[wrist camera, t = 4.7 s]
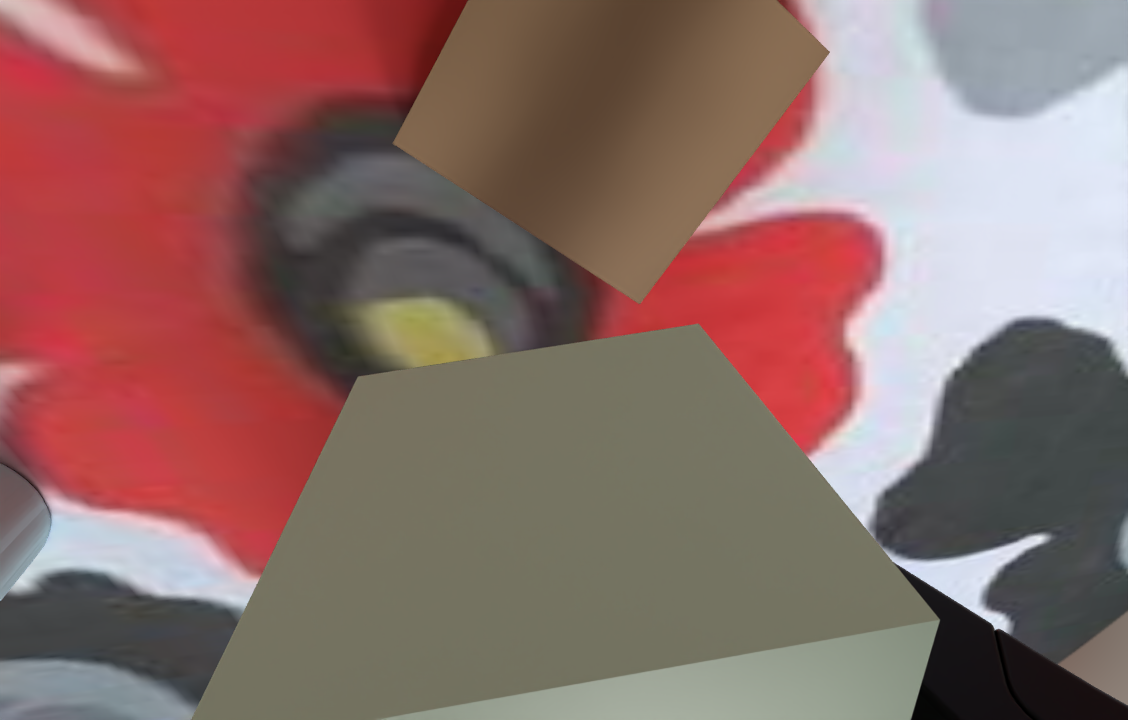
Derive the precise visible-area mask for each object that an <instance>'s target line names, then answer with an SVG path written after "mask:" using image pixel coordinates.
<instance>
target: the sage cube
mask: <svg viewBox="0 0 1128 720" xmlns="http://www.w3.org/2000/svg"><path fill="white" fill-rule="evenodd" d="M939 621H940V619H939V618H938V617H937V616H936V614H935V613H934V612H933V611H932V609H931V608H930V607H929V606H928V605H927V603H926V602H925V601H924V600H923V598H922V597H921V596H920V595H919V593H918V592H917V591H916V590H915V589H914V587H913V586H912V585H911V584H910V582H909V581H908V580H907V579H906V578H905V576H904V575H903V574H902V573H901V571H900V570H899V569H898V568H897V567H896V565H895V564H894V563H893V562H892V560H891V559H890V558H889V557H888V555H887V554H886V553H885V552H884V551H883V549H882V548H881V547H880V546H879V544H878V543H877V542H876V541H875V540H874V538H873V537H872V536H871V535H870V533H869V532H868V531H867V530H866V528H865V527H864V526H863V525H862V524H861V522H860V521H859V520H858V519H857V517H856V516H855V515H854V514H853V513H852V511H851V510H850V509H849V508H848V506H847V505H846V504H845V503H844V502H843V500H842V499H841V498H840V497H839V495H838V494H837V493H836V492H835V490H834V489H833V488H832V487H831V486H830V484H829V483H828V482H827V481H826V479H825V478H824V477H823V476H822V475H821V473H820V472H819V471H818V470H817V468H816V467H815V466H814V465H813V463H812V462H811V461H810V460H809V459H808V457H807V456H806V455H805V454H804V452H803V451H802V450H801V449H800V448H799V446H798V445H797V444H796V443H795V441H794V440H793V439H792V438H791V436H790V435H789V434H788V433H787V432H786V430H785V429H784V428H783V427H782V425H781V424H780V423H779V422H778V421H777V419H776V418H775V417H774V416H773V414H772V413H771V412H770V411H769V410H768V408H767V407H766V406H765V405H764V403H763V402H762V401H761V400H760V398H759V397H758V396H757V395H756V394H755V392H754V391H753V390H752V389H751V387H750V386H749V385H748V384H747V383H746V381H745V380H744V379H743V378H742V376H741V375H740V374H739V373H738V371H737V370H736V369H735V368H734V367H733V365H732V364H731V363H730V362H729V360H728V359H727V358H726V357H725V356H724V354H723V353H722V352H721V351H720V349H719V348H718V347H717V346H716V345H715V343H714V342H713V341H712V340H711V338H710V337H709V336H708V335H707V333H706V332H705V331H704V330H703V329H702V327H701V326H700V325H699V324H694V325H688V326H681V327H675V328H668V329H662V330H655V331H649V332H642V333H636V334H630V335H623V336H617V337H610V338H604V339H597V340H591V341H585V342H578V343H572V344H565V345H559V346H552V347H546V348H539V349H533V350H527V351H520V352H514V353H507V354H501V355H494V356H488V357H481V358H475V359H469V360H462V361H456V362H449V363H443V364H436V365H430V366H423V367H417V368H411V369H404V370H398V371H391V372H385V373H378V374H372V375H366V376H359V377H358V378H357V380H356V382H355V384H354V386H353V388H352V390H351V392H350V394H349V396H348V398H347V400H346V402H345V404H344V406H343V409H342V411H341V413H340V415H339V417H338V419H337V421H336V423H335V425H334V427H333V429H332V431H331V433H330V435H329V437H328V439H327V441H326V444H325V446H324V448H323V450H322V452H321V454H320V456H319V458H318V460H317V462H316V464H315V466H314V468H313V470H312V472H311V474H310V476H309V479H308V481H307V483H306V485H305V487H304V489H303V491H302V493H301V495H300V497H299V499H298V501H297V503H296V505H295V507H294V509H293V511H292V514H291V516H290V518H289V520H288V522H287V524H286V526H285V528H284V530H283V532H282V534H281V536H280V538H279V540H278V542H277V544H276V546H275V549H274V551H273V553H272V555H271V557H270V559H269V561H268V563H267V565H266V567H265V569H264V571H263V573H262V575H261V577H260V579H259V581H258V584H257V586H256V588H255V590H254V592H253V594H252V596H251V598H250V600H249V602H248V604H247V606H246V608H245V610H244V612H243V614H242V616H241V618H240V621H239V623H238V625H237V627H236V629H235V631H234V633H233V635H232V637H231V639H230V641H229V643H228V645H227V647H226V649H225V651H224V653H223V656H222V658H221V660H220V662H219V664H218V666H217V668H216V670H215V672H214V674H213V676H212V678H211V680H210V682H209V684H208V686H207V688H206V691H205V693H204V695H203V697H202V699H201V701H200V703H199V705H198V707H197V709H196V711H195V713H194V715H193V717H192V719H191V720H911V717H912V714H913V710H914V707H915V704H916V700H917V697H918V693H919V690H920V686H921V683H922V680H923V676H924V673H925V669H926V666H927V662H928V659H929V656H930V652H931V649H932V645H933V642H934V638H935V635H936V632H937V628H938V625H939Z"/></svg>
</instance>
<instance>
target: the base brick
mask: <svg viewBox="0 0 1128 720" xmlns="http://www.w3.org/2000/svg"><path fill="white" fill-rule="evenodd" d="M829 53H830V52H829V51H828V50H827V49H826V48H825V47H824V46H823V45H822V44H821V43H820V42H819V41H818V40H817V39H816V38H815V37H814V36H813V35H812V34H811V33H810V32H809V31H808V30H807V29H806V28H805V27H804V26H803V25H802V24H801V23H799V22H798V21H797V20H796V19H795V18H794V17H793V16H792V15H791V14H790V13H789V12H788V11H787V10H786V9H785V8H784V7H783V6H782V5H781V4H780V3H779V2H778V1H777V0H468V1H467V3H466V5H465V7H464V9H463V11H462V13H461V15H460V17H459V19H458V20H457V22H456V24H455V26H454V28H453V30H452V32H451V34H450V36H449V38H448V39H447V41H446V43H445V45H444V47H443V49H442V51H441V53H440V55H439V57H438V58H437V60H436V62H435V64H434V66H433V68H432V70H431V72H430V74H429V76H428V78H427V79H426V81H425V83H424V85H423V87H422V89H421V91H420V93H419V95H418V97H417V98H416V100H415V102H414V104H413V106H412V108H411V110H410V112H409V114H408V116H407V117H406V119H405V121H404V123H403V125H402V127H401V129H400V131H399V133H398V135H397V136H396V138H395V140H394V142H393V144H394V145H396V146H397V147H399V148H401V149H402V150H404V151H405V152H407V153H408V154H410V155H411V156H413V157H414V158H416V159H417V160H419V161H420V162H422V163H424V164H425V165H427V166H428V167H430V168H431V169H433V170H434V171H436V172H437V173H439V174H440V175H442V176H444V177H445V178H447V179H448V180H450V181H451V182H453V183H454V184H456V185H457V186H459V187H460V188H462V189H463V190H465V191H467V192H468V193H470V194H471V195H473V196H474V197H476V198H477V199H479V200H480V201H482V202H483V203H485V204H487V205H488V206H490V207H491V208H493V209H494V210H496V211H497V212H499V213H500V214H502V215H503V216H505V217H506V218H508V219H510V220H511V221H513V222H514V223H516V224H517V225H519V226H520V227H522V228H523V229H525V230H526V231H528V232H530V233H531V234H533V235H534V236H536V237H537V238H539V239H540V240H542V241H543V242H545V243H546V244H548V245H549V246H551V247H553V248H554V249H556V250H557V251H559V252H560V253H562V254H563V255H565V256H566V257H568V258H569V259H571V260H573V261H574V262H576V263H577V264H579V265H580V266H582V267H583V268H585V269H586V270H588V271H589V272H591V273H592V274H594V275H596V276H597V277H599V278H600V279H602V280H603V281H605V282H606V283H608V284H609V285H611V286H612V287H614V288H616V289H617V290H619V291H620V292H622V293H623V294H625V295H626V296H628V297H629V298H631V299H632V300H634V301H635V302H637V303H639V304H640V303H641V302H642V301H643V299H644V298H645V297H646V295H647V294H648V293H649V291H650V290H651V289H652V287H653V286H654V285H655V283H656V282H657V281H658V279H659V278H660V277H661V275H662V274H663V273H664V271H665V270H666V269H667V267H668V266H669V265H670V263H671V262H672V261H673V259H674V258H675V257H676V256H677V254H678V253H679V252H680V250H681V249H682V248H683V246H684V245H685V244H686V242H687V241H688V240H689V238H690V237H691V236H692V234H693V233H694V232H695V230H696V229H697V228H698V226H699V225H700V224H701V222H702V221H703V220H704V218H705V217H706V216H707V214H708V213H709V212H710V210H711V209H712V208H713V206H714V205H715V204H716V202H717V201H718V200H719V199H720V197H721V196H722V195H723V193H724V192H725V191H726V189H727V188H728V187H729V185H730V184H731V183H732V181H733V180H734V179H735V177H736V176H737V175H738V173H739V172H740V171H741V169H742V168H743V167H744V165H745V164H746V163H747V161H748V160H749V159H750V157H751V156H752V155H753V153H754V152H755V151H756V149H757V148H758V147H759V145H760V144H761V143H762V142H763V140H764V139H765V138H766V136H767V135H768V134H769V132H770V131H771V130H772V128H773V127H774V126H775V124H776V123H777V122H778V120H779V119H780V118H781V116H782V115H783V114H784V112H785V111H786V110H787V108H788V107H789V106H790V104H791V103H792V102H793V100H794V99H795V98H796V96H797V95H798V94H799V92H800V91H801V90H802V88H803V87H804V86H805V85H806V83H807V82H808V81H809V79H810V78H811V77H812V75H813V74H814V73H815V71H816V70H817V69H818V67H819V66H820V65H821V63H822V62H823V61H824V59H825V58H826V57H827V55H828V54H829Z"/></svg>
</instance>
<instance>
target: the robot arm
mask: <svg viewBox="0 0 1128 720" xmlns="http://www.w3.org/2000/svg"><path fill="white" fill-rule="evenodd" d="M893 563H894V562H893ZM894 564H895V563H894ZM895 565H896V567H897V568H898V569H899V570H900V571H901V573H902V574H903V575H904V576H905V578H906V579H907V580H908V581H909V582H910V584H911V585H912V586H913V587H914V589H915V590H916V591H917V592H918V593H919V595H920V596H921V597H922V598H923V600H924V601H925V602H926V603H927V605H928V606H929V607H930V608H931V609H932V611H933V612H934V613H935V614H936V616H937V617H938V618H939V619H940V621H939V625H938V628H937V632H936V635H935V638H934V642H933V645H932V649H931V652H930V656H929V659H928V662H927V666H926V669H925V673H924V676H923V680H922V683H921V686H920V690H919V693H918V697H917V700H916V704H915V707H914V710H913V714H912V717H911V720H1128V705H1126V704H1124V703H1122V702H1120V701H1119V700H1117V699H1115V698H1113V697H1112V696H1110V695H1108V694H1106V693H1104V692H1103V691H1101V690H1099V689H1097V688H1095V687H1094V686H1092V685H1091V684H1089V683H1087V682H1086V681H1084V680H1082V679H1081V678H1079V677H1077V676H1075V675H1074V674H1072V673H1071V672H1069V671H1067V670H1066V669H1064V668H1062V667H1061V666H1059V665H1058V664H1056V663H1054V662H1053V661H1051V660H1049V659H1048V658H1046V657H1044V656H1043V655H1041V654H1039V653H1038V652H1036V651H1034V650H1033V649H1031V648H1030V647H1028V646H1026V645H1025V644H1023V643H1022V642H1020V641H1018V640H1017V639H1015V638H1014V637H1012V636H1011V635H1009V634H1007V633H1006V632H1004V631H1003V630H1000V629H996V630H994V627H993V625H992V624H991V623H989V622H988V621H986V620H985V619H983V618H981V617H980V616H978V615H977V614H975V613H973V612H972V611H970V610H969V609H967V608H965V607H964V606H962V605H961V604H959V603H957V602H956V601H954V600H953V599H951V598H950V597H948V596H946V595H945V594H943V593H942V592H940V591H938V590H937V589H935V588H934V587H932V586H930V585H929V584H927V583H926V582H924V581H922V580H921V579H919V578H918V577H916V576H914V575H913V574H911V573H910V572H908V571H906V570H905V569H903V568H902V567H900V566H899V565H897V564H895Z"/></svg>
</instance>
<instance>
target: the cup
mask: <svg viewBox="0 0 1128 720" xmlns="http://www.w3.org/2000/svg"><path fill="white" fill-rule="evenodd" d="M50 527H51V519H50V514H49V511H48V509H47V506H46V504H45V503H44V501H43V499H42V497H41V496H40V494H39V493H38V492H37V491H36V490H35V488H34V487H33V486H32V485H31V484H30V483H29V482H28V481H27V480H25V479H24V478H23V477H21V476H20V475H19V474H17V473H16V472H15V471H13V470H12V469H10V468H8V467H7V466H5V465H3V464H1V463H0V601H1V600H2V599H3V597H4V596H5V595H6V594H7V592H8V591H9V590H10V589H11V587H12V586H13V585H14V584H15V582H16V581H17V580H18V579H19V577H20V576H21V575H22V574H23V573H24V571H25V570H26V569H27V567H28V566H29V565H30V564H31V562H32V561H33V560H34V559H35V557H36V556H37V555H38V553H39V552H40V551H41V549H42V548H43V547H44V545H45V543H46V541H47V538H48V535H49V532H50Z"/></svg>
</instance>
